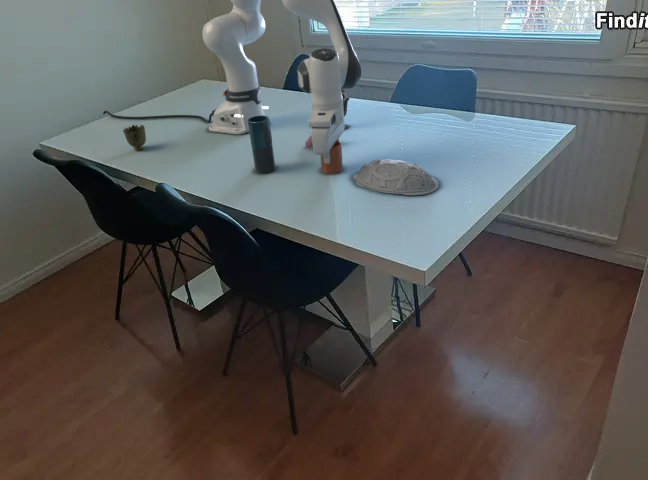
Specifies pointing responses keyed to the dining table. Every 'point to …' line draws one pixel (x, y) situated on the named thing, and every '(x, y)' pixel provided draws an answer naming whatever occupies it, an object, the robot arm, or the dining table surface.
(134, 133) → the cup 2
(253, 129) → the cup stack
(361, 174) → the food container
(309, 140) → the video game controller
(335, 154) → the cup
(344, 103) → the sundae
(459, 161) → the dining table surface
